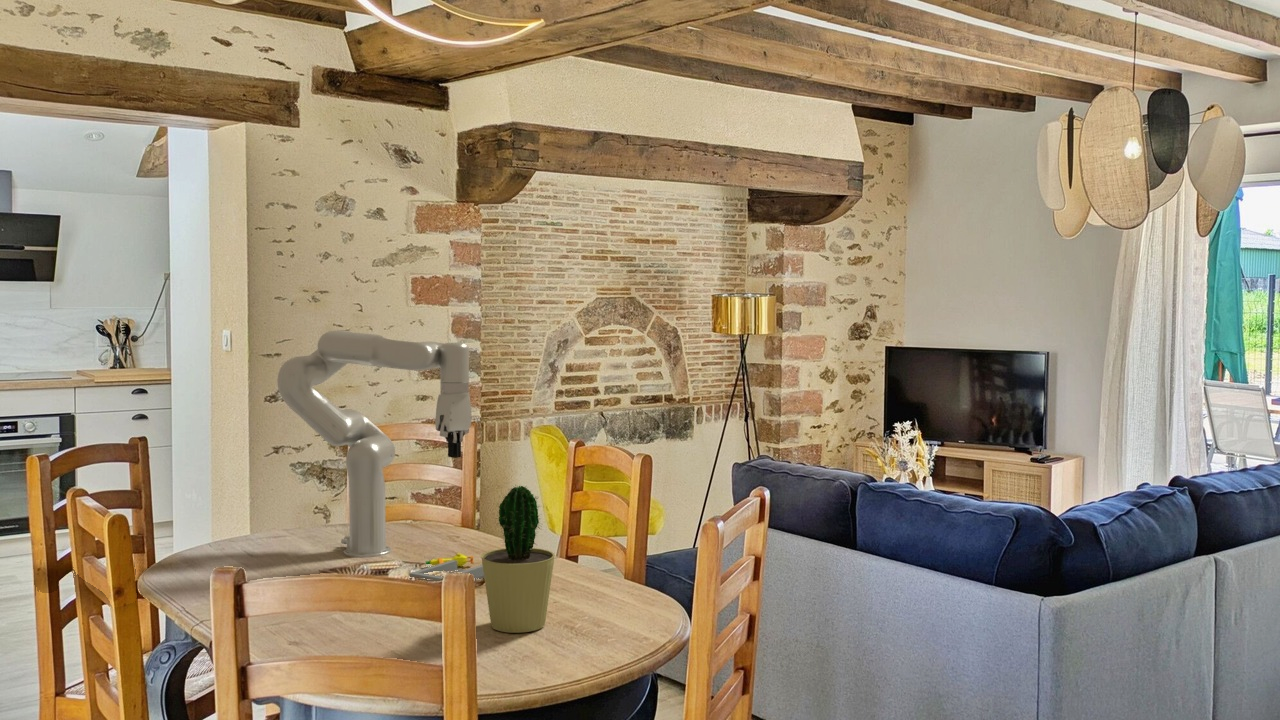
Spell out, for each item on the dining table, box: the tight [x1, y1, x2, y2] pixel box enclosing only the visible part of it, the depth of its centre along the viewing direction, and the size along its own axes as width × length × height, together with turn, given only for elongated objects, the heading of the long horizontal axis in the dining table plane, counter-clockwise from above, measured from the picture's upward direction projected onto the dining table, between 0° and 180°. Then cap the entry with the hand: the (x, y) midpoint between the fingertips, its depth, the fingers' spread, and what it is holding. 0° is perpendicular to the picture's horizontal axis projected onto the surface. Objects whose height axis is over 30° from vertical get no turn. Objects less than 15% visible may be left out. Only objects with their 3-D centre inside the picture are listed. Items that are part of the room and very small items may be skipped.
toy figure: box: [425, 552, 474, 568], centre depth 271 cm, size 7×4×12 cm
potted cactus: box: [480, 485, 555, 634], centre depth 222 cm, size 15×15×30 cm
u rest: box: [408, 560, 484, 583], centre depth 258 cm, size 12×16×3 cm
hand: (454, 456), depth 284 cm, fingers closed
